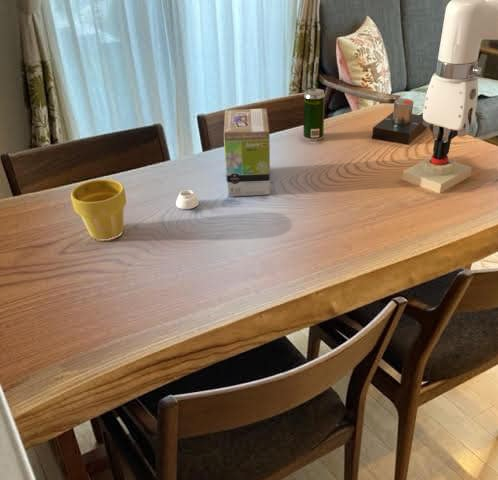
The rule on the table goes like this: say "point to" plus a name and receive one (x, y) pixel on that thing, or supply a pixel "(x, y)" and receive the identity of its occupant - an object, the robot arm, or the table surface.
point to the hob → (398, 130)
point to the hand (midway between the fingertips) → (439, 156)
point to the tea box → (247, 152)
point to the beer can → (314, 114)
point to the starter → (436, 174)
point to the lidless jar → (187, 200)
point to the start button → (439, 161)
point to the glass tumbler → (402, 111)
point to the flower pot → (100, 207)
